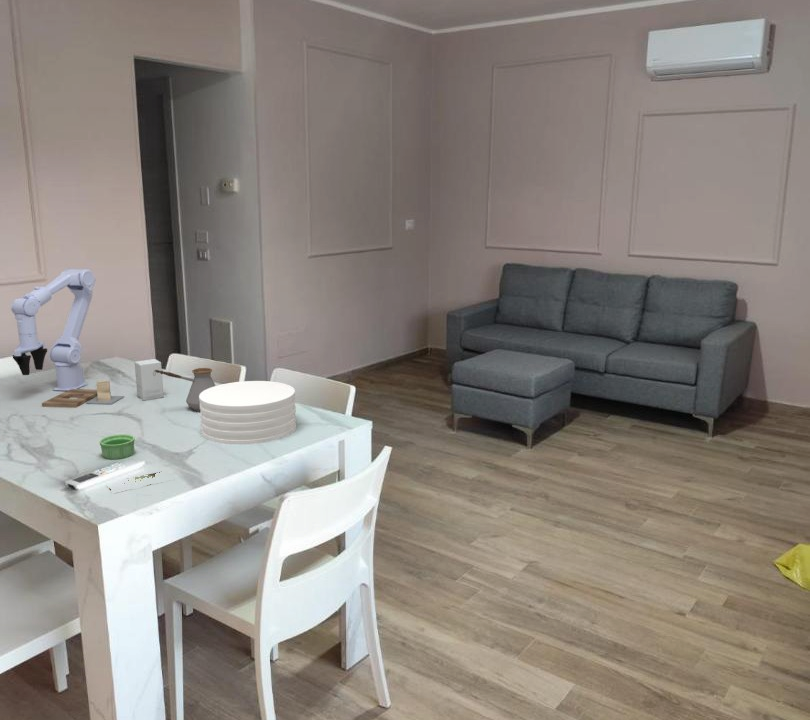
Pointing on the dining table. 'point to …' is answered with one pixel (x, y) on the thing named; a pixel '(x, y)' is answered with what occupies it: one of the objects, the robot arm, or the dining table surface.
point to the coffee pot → (195, 385)
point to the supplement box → (149, 379)
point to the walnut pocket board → (65, 400)
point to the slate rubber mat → (113, 400)
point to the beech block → (103, 391)
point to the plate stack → (247, 412)
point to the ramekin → (117, 446)
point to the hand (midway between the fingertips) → (32, 372)
